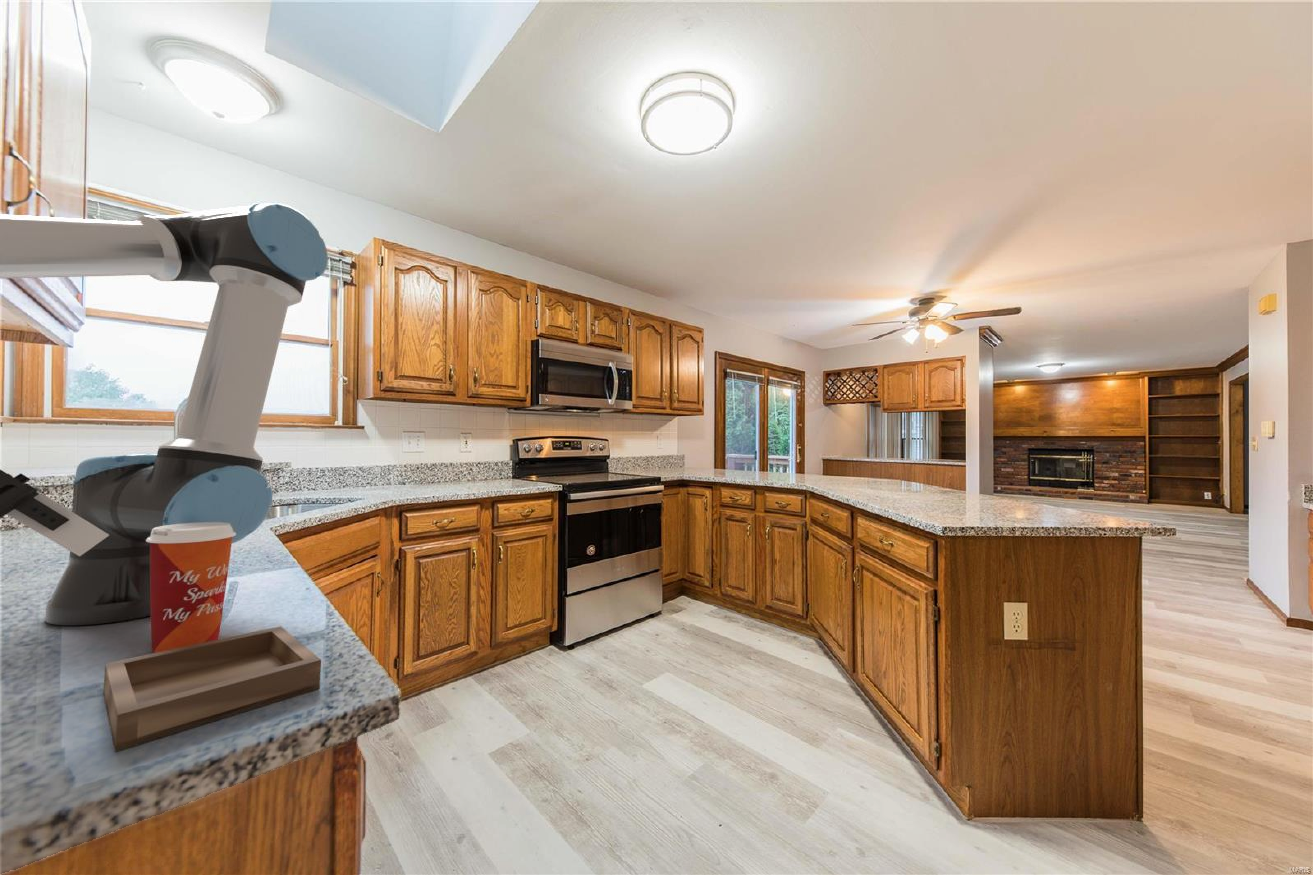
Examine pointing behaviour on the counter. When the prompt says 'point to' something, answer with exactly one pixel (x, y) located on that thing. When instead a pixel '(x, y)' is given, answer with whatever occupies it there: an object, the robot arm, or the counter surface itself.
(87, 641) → the counter surface
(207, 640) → the coffee cup
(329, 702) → the counter surface
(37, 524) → the robot arm
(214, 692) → the walnut tray
